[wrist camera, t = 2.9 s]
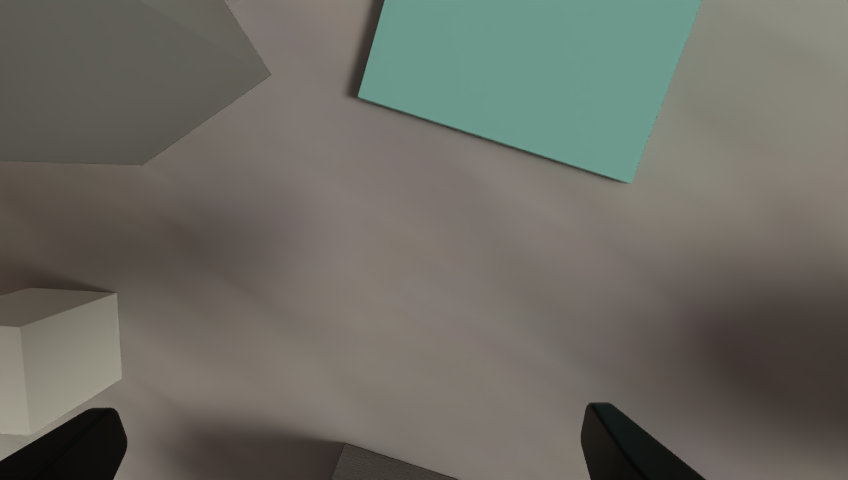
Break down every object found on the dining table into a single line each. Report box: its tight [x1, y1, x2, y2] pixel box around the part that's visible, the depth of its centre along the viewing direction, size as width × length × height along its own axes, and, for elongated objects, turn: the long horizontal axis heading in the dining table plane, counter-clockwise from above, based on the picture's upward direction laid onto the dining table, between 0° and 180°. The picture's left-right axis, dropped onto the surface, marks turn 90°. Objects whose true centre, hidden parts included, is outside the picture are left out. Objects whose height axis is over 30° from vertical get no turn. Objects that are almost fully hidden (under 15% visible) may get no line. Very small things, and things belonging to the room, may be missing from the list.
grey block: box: [0, 288, 122, 435], centre depth 18 cm, size 4×4×4 cm
